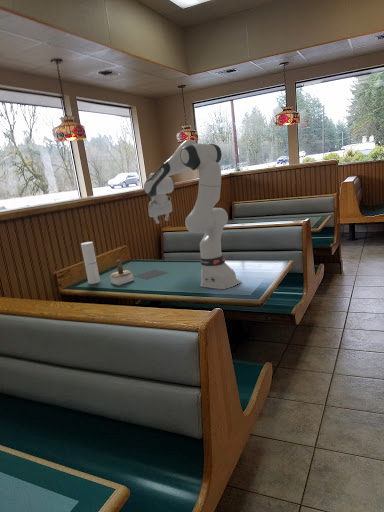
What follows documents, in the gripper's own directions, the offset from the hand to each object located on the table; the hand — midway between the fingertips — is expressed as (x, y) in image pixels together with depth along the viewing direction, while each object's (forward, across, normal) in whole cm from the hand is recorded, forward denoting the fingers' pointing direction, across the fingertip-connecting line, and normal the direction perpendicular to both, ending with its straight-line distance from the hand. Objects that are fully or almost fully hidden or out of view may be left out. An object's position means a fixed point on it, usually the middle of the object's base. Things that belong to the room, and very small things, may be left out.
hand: (162, 222), depth 234 cm
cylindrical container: (+31, -29, +37) cm, 57 cm away
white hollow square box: (+31, -26, +17) cm, 44 cm away
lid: (+27, -26, +17) cm, 41 cm away
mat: (+31, -10, +7) cm, 33 cm away
